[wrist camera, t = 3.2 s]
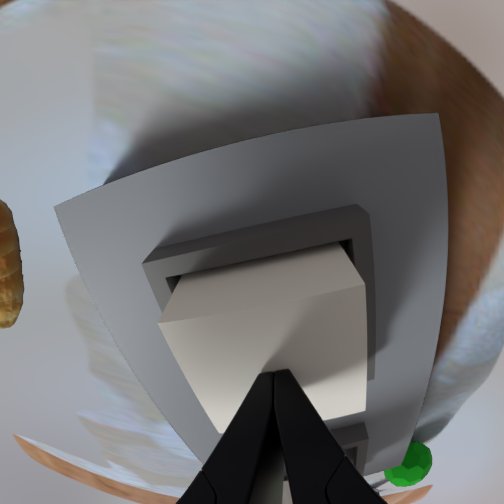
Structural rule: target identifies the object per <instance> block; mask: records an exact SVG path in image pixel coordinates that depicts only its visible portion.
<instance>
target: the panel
mask: <svg viewBox="0 0 504 504" xmlns="http://www.w3.org/2000/svg"><path fill="white" fill-rule="evenodd" d="M54 209H55V212H56V215H57V217H58V220H59V223H60V226H61V229H62V232H63V234H64V237H65V239H66V242H67V244H68V247H69V249H70V252H71V254H72V257H73V259H74V261H75V264H76V266H77V268H78V271H79V273H80V275H81V277H82V280H83V282H84V284H85V286H86V288H87V290H88V292H89V294H90V296H91V298H92V300H93V302H94V304H95V306H96V308H97V310H98V312H99V314H100V316H101V318H102V320H103V322H104V324H105V325H106V327H107V329H108V331H109V333H110V335H111V336H112V338H113V340H114V342H115V343H116V345H117V347H118V348H119V350H120V352H121V353H122V355H123V357H124V358H125V360H126V362H127V363H128V365H129V366H130V368H131V370H132V371H133V373H134V374H135V376H136V377H137V379H138V380H139V382H140V383H141V385H142V386H143V388H144V389H145V391H146V392H147V394H148V395H149V397H150V398H151V400H152V401H153V402H154V404H155V405H156V407H157V408H158V409H159V411H160V412H161V413H162V415H163V416H164V417H165V419H166V420H167V421H168V423H169V424H170V425H171V427H172V428H173V429H174V430H175V432H176V433H177V434H178V435H179V437H180V438H181V439H182V440H183V442H184V443H185V444H186V445H187V446H188V448H189V449H190V450H191V451H192V452H193V453H194V455H195V456H196V457H197V458H198V459H199V460H200V461H201V463H202V464H203V465H204V464H205V462H206V461H207V459H208V458H209V456H210V454H211V453H212V451H213V450H214V448H215V446H216V445H217V443H218V442H219V440H220V438H221V437H222V435H223V434H224V433H219V432H218V431H217V429H216V428H215V426H214V425H213V423H212V421H211V420H210V418H209V417H208V415H207V413H206V412H205V410H204V408H203V407H202V405H201V403H200V402H199V400H198V398H197V397H196V395H195V393H194V391H193V390H192V388H191V386H190V384H189V383H188V381H187V379H186V377H185V375H184V374H183V372H182V370H181V368H180V366H179V364H178V363H177V361H176V359H175V357H174V355H173V353H172V351H171V349H170V347H169V345H168V343H167V341H166V339H165V337H164V335H163V333H162V331H161V329H160V327H159V325H158V322H159V320H160V318H161V316H162V314H163V312H164V310H165V308H166V306H167V304H168V302H169V300H170V298H171V296H172V294H173V292H174V290H175V288H176V286H177V284H178V282H179V280H180V278H181V276H182V274H185V273H190V272H195V271H200V270H204V269H209V268H214V267H219V266H224V265H228V264H233V263H238V262H243V261H247V260H252V259H257V258H262V257H266V256H271V255H276V254H281V253H285V252H290V251H295V250H299V249H304V248H309V247H313V246H318V245H323V244H327V243H332V242H336V241H338V242H339V244H340V245H341V247H342V248H343V250H344V251H345V253H346V254H347V256H348V258H349V259H350V261H351V262H352V264H353V265H354V267H355V269H356V270H357V272H358V273H359V275H360V277H361V278H362V280H363V281H364V283H365V290H366V312H367V388H366V408H365V411H362V412H358V413H354V414H350V415H346V416H342V417H337V418H333V419H328V420H323V421H324V422H325V424H326V425H327V427H328V428H329V430H330V431H331V433H332V434H333V436H334V437H335V439H336V440H337V442H338V443H339V445H340V446H341V447H342V449H343V450H344V452H345V453H346V456H348V457H349V459H350V460H351V462H352V463H353V464H354V466H355V467H356V469H357V470H358V471H359V472H360V474H361V475H362V476H366V475H370V474H374V473H377V472H381V471H384V470H387V469H391V468H394V467H397V466H400V465H401V464H402V461H403V459H404V456H405V454H406V451H407V449H408V446H409V444H410V441H411V438H412V435H413V433H414V430H415V427H416V424H417V421H418V418H419V414H420V411H421V408H422V405H423V401H424V398H425V394H426V390H427V387H428V383H429V379H430V375H431V371H432V366H433V362H434V357H435V352H436V347H437V342H438V336H439V331H440V324H441V318H442V311H443V303H444V294H445V284H446V272H447V256H448V193H447V177H446V165H445V155H444V147H443V139H442V132H441V125H440V119H439V114H438V113H424V114H406V115H392V116H382V117H373V118H364V119H356V120H349V121H342V122H335V123H328V124H322V125H316V126H311V127H305V128H300V129H294V130H289V131H284V132H279V133H275V134H270V135H265V136H261V137H257V138H252V139H248V140H244V141H240V142H236V143H232V144H228V145H224V146H220V147H217V148H213V149H209V150H206V151H202V152H199V153H195V154H192V155H188V156H185V157H182V158H179V159H175V160H172V161H169V162H166V163H163V164H160V165H157V166H154V167H151V168H148V169H145V170H142V171H139V172H137V173H134V174H131V175H128V176H126V177H123V178H120V179H117V180H115V181H112V182H110V183H107V184H105V185H102V186H100V187H97V188H95V189H92V190H90V191H88V192H86V193H83V194H81V195H78V196H76V197H74V198H72V199H70V200H67V201H65V202H63V203H61V204H59V205H56V206H54ZM283 481H288V478H287V473H286V468H285V463H284V480H283Z"/></svg>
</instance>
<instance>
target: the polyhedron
mask: <svg viewBox="0 0 504 504" xmlns="http://www.w3.org/2000/svg"><path fill="white" fill-rule="evenodd" d="M431 466H432V455H431V451H430V449H429V448H428V447H427V446H425V445H424V444H422V443H421V442H410V444H409V446H408V449H407V451H406V454H405V456H404V459H403V461H402V464H401V465H400V466H397V467H394V468H391V469H387V470H384V474H385V477H386V478H387V479H388V480H389V481H390V482H391V483H393V484H394V485H396V486H402V487H406V486H411V485H414V484H416V483H417V482H419V481H421V480H422V479H423V478H424V477H425V476H426V475H427V474H428V472H429V470H430V468H431Z"/></svg>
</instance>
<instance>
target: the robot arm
mask: <svg viewBox="0 0 504 504" xmlns="http://www.w3.org/2000/svg"><path fill="white" fill-rule="evenodd" d="M284 463H285V468H286V473H287V478H288V483H289V488H290V493H291V498H292V503H293V504H388V503H387V502H386V501H385V500H384V499H383V498H382V497H381V496H380V495H379V494H378V493H377V492H376V491H375V490H374V489H373V488H372V487H371V486H370V485H369V484H368V482H367V481H366V480H365V479H364V478H363V476H362V475H361V474H360V472H359V471H358V470H357V469H356V467H355V466H354V464H353V463H352V462H351V460H350V459H349V457H348V456H346V453H345V452H344V450H343V449H342V447H341V446H340V445H339V443H338V442H337V440H336V439H335V437H334V436H333V434H332V433H331V431H330V430H329V428H328V427H327V425H326V424H325V422H324V421H323V419H322V418H321V416H320V415H319V413H318V412H317V410H316V409H315V407H314V406H313V404H312V403H311V401H310V400H309V398H308V397H307V395H306V394H305V392H304V391H303V389H302V388H301V386H300V384H299V383H298V381H297V380H296V378H295V377H294V375H293V374H292V372H291V371H290V369H281V370H276V371H275V372H272V371H269V372H263V373H259V374H258V376H257V377H256V379H255V381H254V383H253V384H252V386H251V388H250V390H249V391H248V393H247V395H246V397H245V398H244V400H243V402H242V404H241V405H240V407H239V409H238V410H237V412H236V414H235V415H234V417H233V419H232V420H231V422H230V424H229V425H228V427H227V429H226V430H225V432H224V434H223V435H222V437H221V438H220V440H219V442H218V443H217V445H216V446H215V448H214V450H213V451H212V453H211V454H210V456H209V458H208V459H207V461H206V462H205V464H204V465H203V467H202V471H199V473H198V474H197V476H196V477H195V479H194V480H193V482H192V483H191V485H190V486H189V487H188V489H187V490H186V491H185V493H184V494H183V495H182V497H181V498H180V499H179V500H178V501H177V502H176V504H282V497H283V480H284Z"/></svg>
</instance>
